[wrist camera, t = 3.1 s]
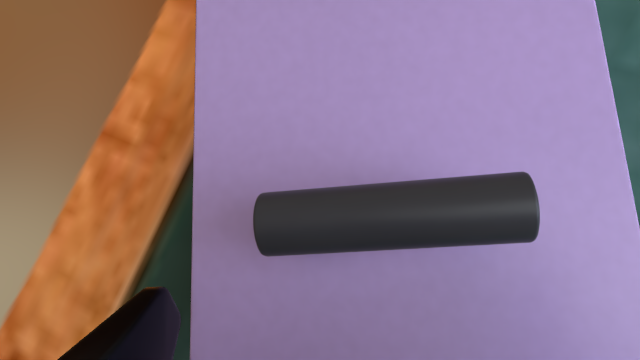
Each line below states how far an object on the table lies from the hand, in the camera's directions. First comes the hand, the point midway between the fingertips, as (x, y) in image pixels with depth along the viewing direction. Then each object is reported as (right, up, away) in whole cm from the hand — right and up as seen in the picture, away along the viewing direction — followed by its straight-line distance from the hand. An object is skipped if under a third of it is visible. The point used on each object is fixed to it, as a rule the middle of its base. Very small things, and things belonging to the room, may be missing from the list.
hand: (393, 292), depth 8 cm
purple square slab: (+1, +4, +6) cm, 7 cm away
